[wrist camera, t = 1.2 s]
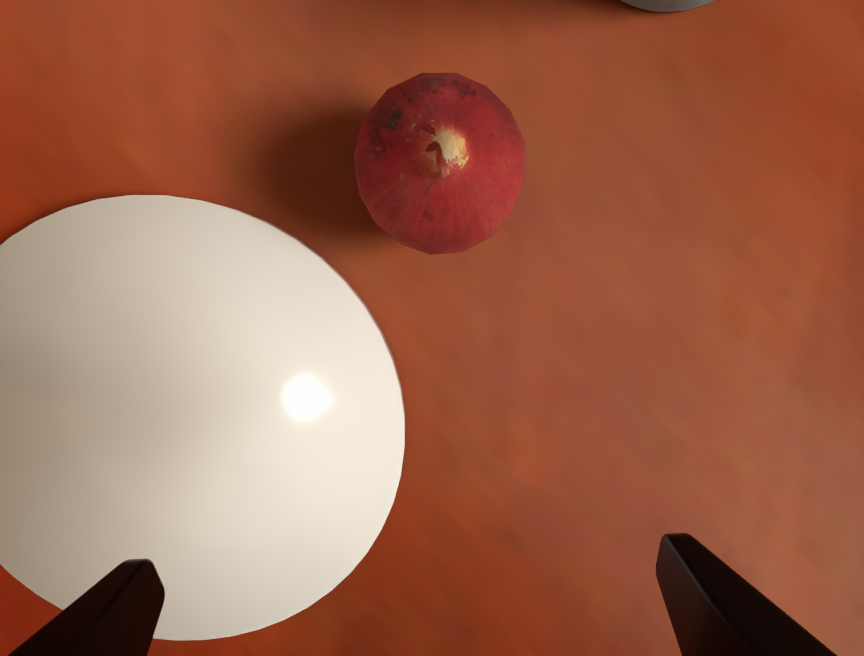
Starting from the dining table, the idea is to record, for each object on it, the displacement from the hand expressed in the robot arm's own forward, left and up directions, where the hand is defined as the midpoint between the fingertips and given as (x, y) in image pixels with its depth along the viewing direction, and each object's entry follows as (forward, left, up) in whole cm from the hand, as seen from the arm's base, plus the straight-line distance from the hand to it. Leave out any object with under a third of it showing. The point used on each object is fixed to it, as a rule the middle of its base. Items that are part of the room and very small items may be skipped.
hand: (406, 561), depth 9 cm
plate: (-2, +11, -13) cm, 17 cm away
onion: (+8, -1, -14) cm, 16 cm away
